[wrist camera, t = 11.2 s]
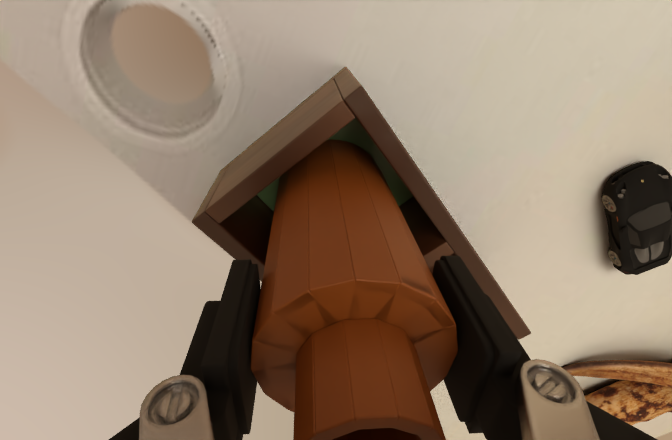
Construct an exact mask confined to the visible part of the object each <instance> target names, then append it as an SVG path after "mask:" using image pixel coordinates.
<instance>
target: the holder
mask: <svg viewBox="0 0 672 440" xmlns="http://www.w3.org/2000/svg"><path fill="white" fill-rule="evenodd" d="M332 139H333V140H342V141H347V142H350V143H353V144H355V145H357V146H359V147H361V148H362V149H364V150H365V151H366V152H367V153H368V154H369V155H371V157H372V158H373V159H374V160H375V162H376V164H377V165H378V167H379V169H380V170H381V172H382V174H383V176H384V178H385V180H386V182H387V184H388V186H389V188H390V190H391V192H392V194H393V196H394V198H395V200H396V202H397V204H398V206H399V208H400V210H401V212H402V214H403V216H404V218H405V221H406V223H407V225H408V227H409V229H410V231H411V233H412V235H413V237H414V239H415V241H416V243H417V245H418V247H419V249H420V251H421V253H422V255H423V257H424V259H425V261H426V263H427V265H428V267H429V270H430V272H431V274H432V273H433V268H434V263H435V261H436V260H440V258H441V256H457V255H458V256H460V257H461V259H462V260H463V262H464V263H465V265H466V266H467V268H468V269H469V271H470V273H471V274H472V276H473V277H474V279H475V280H476V282H477V283H478V285H479V286H480V288H481V290H482V291H483V293H485V294H487V295H488V296H489V297H490V298H491V300H492V301H493V303H494V304H495V306H496V307H497V309H498V311H499V312H500V314H501V315H502V317H503V318H504V320H505V321H506V323H507V324H508V326H509V327H510V329H511V330H512V332H513V333H514V335H515V336H516V338H517V339H521V338H523V337H525V336H527V335H529V334H531V332H530V330H529V329H528V327H527V326H526V324H525V323H524V321H523V320H522V319H521V317H520V316H519V314H518V313H517V311H516V310H515V308H514V307H513V305H512V304H511V302H510V301H509V300H508V298H507V297H506V295H505V294H504V292H503V291H502V289H501V288H500V286H499V285H498V283H497V282H496V281H495V279H494V278H493V276H492V275H491V273H490V272H489V270H488V269H487V267H486V266H485V265H484V263H483V262H482V260H481V259H480V257H479V256H478V254H477V253H476V251H475V250H474V248H473V247H472V246H471V244H470V243H469V241H468V240H467V238H466V237H465V235H464V234H463V232H462V231H461V230H460V228H459V227H458V225H457V224H456V222H455V221H454V219H453V218H452V216H451V215H450V213H449V212H448V211H447V209H446V208H445V206H444V205H443V203H442V202H441V200H440V199H439V197H438V196H437V194H436V193H435V192H434V190H433V189H432V187H431V186H430V184H429V183H428V181H427V180H426V178H425V177H424V176H423V174H422V173H421V171H420V170H419V168H418V167H417V165H416V164H415V162H414V161H413V159H412V158H411V157H410V155H409V154H408V152H407V151H406V149H405V148H404V146H403V145H402V143H401V142H400V141H399V139H398V138H397V136H396V135H395V133H394V132H393V130H392V129H391V127H390V126H389V124H388V123H387V122H386V120H385V119H384V117H383V116H382V114H381V113H380V111H379V110H378V108H377V107H376V105H375V104H374V103H373V101H372V100H371V98H370V97H369V95H368V94H367V92H366V91H365V89H364V88H363V87H362V85H361V84H360V83H359V82H358V80H357V79H356V78H355V77H354V76H353V74H352V73H351V72H350V71H349V69H348V68H347V67H344V68H343V69H342V70H341V71H340V72H338V73H337V74H336V75H335V76H334V77H332V78H331V79H330V80H329V81H328V82H326V83H325V84H324V85H323V86H322V87H320V88H319V89H318V90H317V91H315V92H314V93H313V94H312V95H311V96H309V97H308V98H307V99H306V100H305V101H303V102H302V103H301V104H300V105H299V106H297V107H296V108H295V109H294V110H293V111H291V112H290V113H289V114H288V115H287V116H285V117H284V118H283V119H282V120H281V121H279V122H278V123H277V124H276V125H275V126H273V127H272V128H271V129H270V130H269V131H267V132H266V133H265V134H264V135H263V136H261V137H260V138H259V139H258V140H257V141H255V142H254V143H253V144H252V145H251V146H249V147H248V148H247V149H246V150H245V151H243V152H242V153H241V154H240V155H239V156H237V157H236V158H235V159H234V160H233V161H231V162H230V163H229V164H228V165H227V166H225V167H224V168H223V169H222V170H221V171H220V172H219V174H218V176H217V178H216V180H215V182H214V183H213V185H212V187H211V189H210V190H209V192H208V194H207V196H206V197H205V199H204V201H203V203H202V205H201V206H200V208H199V210H198V212H197V213H196V215H195V217H194V219H193V220H192V223H193V224H194V225H195V226H197V227H198V228H199V229H200V230H201V231H203V232H204V233H205V234H206V235H207V236H208V237H210V238H211V239H212V240H213V241H214V242H216V243H217V244H218V245H219V246H220V247H221V248H223V249H224V250H225V251H226V252H227V253H229V254H230V255H231V256H232V257H233V258H235V259H236V260H248V259H251V261H252V264H258V269H259V279H260V280H261V281H262V279H263V273H264V267H265V262H266V256H267V250H268V244H269V238H270V232H271V226H272V221H273V215H274V209H275V203H276V197H277V191H278V186H279V180H280V177H281V175H283V174H284V173H285V172H287V171H288V170H289V169H290V168H292V167H293V166H294V165H295V164H297V163H298V162H299V161H301V160H302V159H303V158H304V157H306V156H307V155H308V154H310V153H311V152H312V151H313V150H315V149H316V148H317V147H319V146H320V145H321V144H322V143H324V142H325V141H326V140H332Z"/></svg>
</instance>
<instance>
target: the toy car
mask: <svg viewBox="0 0 672 440" xmlns="http://www.w3.org/2000/svg"><path fill="white" fill-rule="evenodd" d="M602 194H603V195H602V202H603V204H604V206H605V207H606V209H605V213H606V217H607V221H608V227H609V242H610V248H611V249H610V250H608V255H609V257H610V259H611V260H612V262H613V265H614V267H615V268H616V269H618V270H620V271H621V272H623V273H624V274H635V275H637V274H640V273H643V272H645V271H648V270H651V269H653V268H656V267H658V266H661V265H664V264H666V263H668V261H669V260H670V258H671V256H672V176H671V175H670V173H669V172H668V171H667V170H666V169H665V168H663V167H662V166H660V165H657V164H655V163H653V162H649V161H646V162H640V163H636V164H634V165H631V166H629V167H626V168H624V169H622V170H621V171H619V172H617V173H616V174H615V175H613V176H612V177H611V178H610V179H609V180H608V182H607V184H606V186H605V188H604V190H603V193H602Z"/></svg>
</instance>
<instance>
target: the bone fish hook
mask: <svg viewBox="0 0 672 440" xmlns="http://www.w3.org/2000/svg"><path fill="white" fill-rule="evenodd" d="M562 368H563V369H565V370H566V371H567V372H568V373H570V374H571V375H572V376H588V377H598V378H610V379H620V380H622V381H617V382H615V383H613V384H612V385H608V386H605V387H603V388H601V389H599V390H597V391H595V392H593V393H590V394H588V395H584V396H585V399H586V401H588V402H590V403H591V404H593V405H595V406H597V407H599V408H601V409H602V410H604V411H606V412H608V413H610V414H611V415H613V416H615V417H617V418H619V419H621V420H622V421H624V422H626V423H628V424H630V425H631V426H632V425H633V424H635V423H638V422H642V421H649V420H651V419H653V418H655V417H657V416H659V415H661V414H663V413H666V412H672V363H665V362H655V361H639V360H604V361H587V362H579V363H575V364H571V365H567V366H564V367H562Z"/></svg>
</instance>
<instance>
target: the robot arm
mask: <svg viewBox="0 0 672 440" xmlns="http://www.w3.org/2000/svg"><path fill="white" fill-rule="evenodd" d="M432 276H433V278H434V280H435V282H436V284H437V286H438V288H439V290H440V292H441V294H442V296H443V298H444V300H445V302H446V304H447V306H448V308H449V310H450V312H451V314H452V316H453V319H454V321H455V323H456V330H457V342H458V353H457V355H456V357H455V359H454V361H453V363H452V365H451V368H450V370H449V372H448V374H447V376H446V377H445V378H444V382H445V385H446V387H447V390H448V393H449V395H450V398H451V400H452V403H453V406H454V408H455V411H456V414H457V416H458V418H459V420H460V421H461V422H465V424H466V426H467V429H468V431H469V433H484V436H485V438H486V439H487V440H657V439H655V438H653V437H652V436H650V435H648V434H646V433H644V432H642V431H641V430H639V429H637V428H635V427H633V426H631V425H630V424H628V423H626V422H624V421H622V420H621V419H619V418H617V417H615V416H613V415H611V414H610V413H608V412H606V411H604V410H602V409H601V408H599V407H597V406H595V405H593V404H591V403H590V402H588V401H586V399H585V396H584V394H583V391H582V389H581V387H580V385H579V383H578V382H577V381H576V380H575V378H574V377H573V376H572V375H571V374H570V373H568V372H567V371H566V370H565V369H563V368H562V367H560V366H558V365H556V364H554V363H551V362H548V361H545V360H538V359H535V360H531V359H530V358H529V356H528V355H527V353H526V352H525V350H524V349H523V347H522V346H521V344H520V343H519V341H518V340H517V338H516V336H515V335H514V333H513V332H512V330H511V329H510V327H509V326H508V324H507V323H506V321H505V320H504V318H503V317H502V315H501V314H500V312H499V311H498V309H497V307H496V306H495V304H494V303H493V301H492V300H491V298H490V297H489V296H488V295H487V294H485V293H483V291H482V290H481V288H480V286H479V285H478V283H477V282H476V280H475V279H474V277H473V276H472V274H471V273H470V271H469V269H468V268H467V266H466V265H465V263H464V262H463V260H462V259H461V257H460V256H458V255H457V256H441V258H440V260H436V261H435V263H434V268H433V273H432ZM260 291H261V289H260V279H259V269H258V264H252V261H251V259H248V260H233V262H232V265H231V269H230V272H229V275H228V279H227V281H226V285H225V288H224V291H223V294H222V298H221V301H208V302H206V304H205V306H204V308H203V311H202V314H201V317H200V320H199V323H198V325H197V328H196V331H195V334H194V336H193V339H192V342H191V345H190V348H189V350H188V353H187V356H186V359H185V362H184V364H183V367H182V370H181V373H180V375H178V376H173V377H171V378H169V379H166V380H164V381H162V382H161V383H159V384H158V385H156V386H155V387H154V388H153V389H152V390H151V391H150V392H149V393H148V394H147V396H146V397H145V399H144V401H143V403H142V405H141V410H140V418H138V419H137V420H136V421H134V422H133V423H131V424H130V425H129V426H127V427H126V428H124V429H123V430H122V431H120V432H119V433H117V434H116V435H115V436H113V437H112V438H110V439H109V440H242V438H243V434H249V433H250V429H251V422H252V415H253V408H254V407H253V406H254V400H255V393H256V386H257V380H256V378H255V376H254V374H253V373H252V371H251V366H250V364H251V348H252V338H253V332H254V326H255V320H256V314H257V308H258V302H259V297H260Z"/></svg>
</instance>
